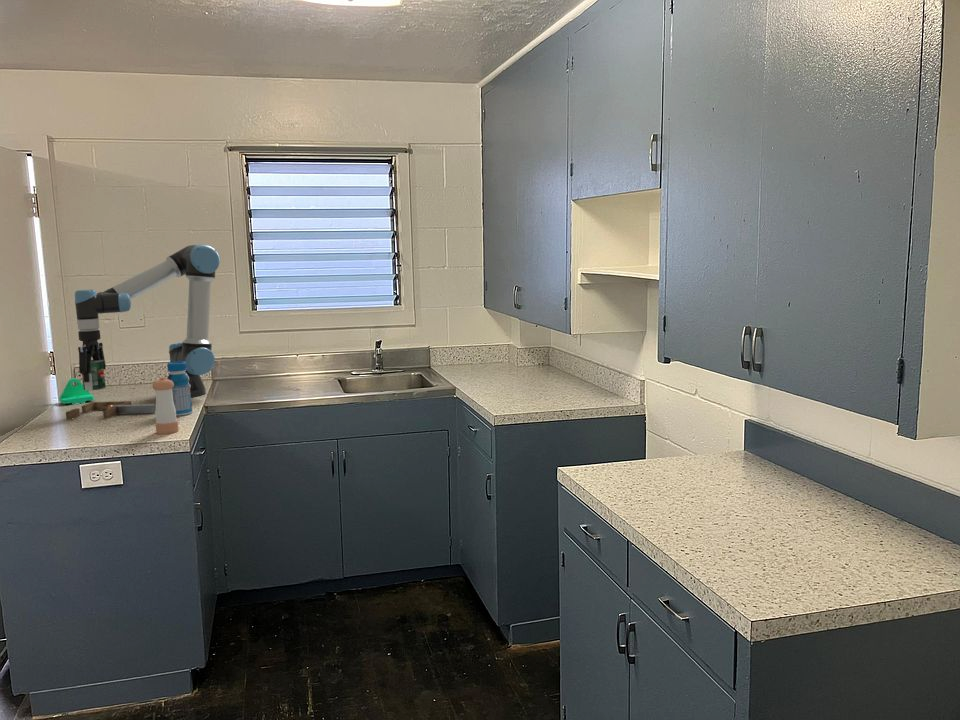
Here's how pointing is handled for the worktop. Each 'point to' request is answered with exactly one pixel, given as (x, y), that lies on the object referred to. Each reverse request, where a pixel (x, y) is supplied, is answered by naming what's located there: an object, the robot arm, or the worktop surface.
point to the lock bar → (133, 408)
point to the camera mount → (75, 393)
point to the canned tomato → (96, 375)
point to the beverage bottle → (180, 387)
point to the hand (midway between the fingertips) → (94, 388)
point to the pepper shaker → (165, 407)
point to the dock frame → (99, 406)
